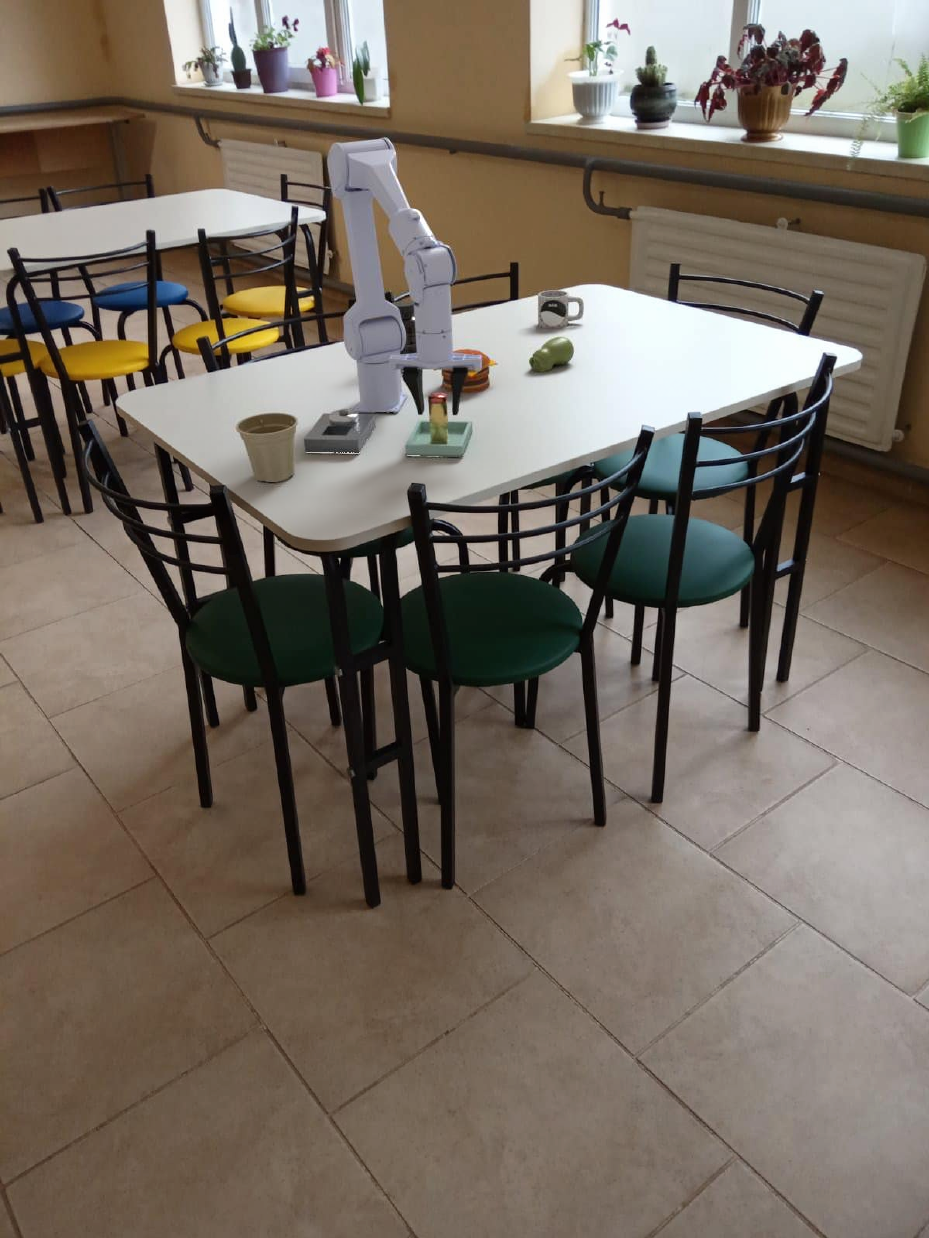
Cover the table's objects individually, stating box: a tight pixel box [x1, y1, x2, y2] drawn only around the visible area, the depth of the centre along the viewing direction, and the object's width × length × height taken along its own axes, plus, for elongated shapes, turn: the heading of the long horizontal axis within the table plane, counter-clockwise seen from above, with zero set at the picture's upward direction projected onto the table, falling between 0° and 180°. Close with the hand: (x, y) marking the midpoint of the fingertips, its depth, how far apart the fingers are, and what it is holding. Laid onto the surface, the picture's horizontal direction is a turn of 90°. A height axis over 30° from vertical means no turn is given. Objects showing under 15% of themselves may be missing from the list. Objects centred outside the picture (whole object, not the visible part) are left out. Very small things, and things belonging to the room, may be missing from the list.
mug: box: [537, 289, 585, 329], centre depth 226 cm, size 10×7×7 cm
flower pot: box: [235, 412, 299, 483], centre depth 159 cm, size 9×9×9 cm
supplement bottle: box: [391, 300, 417, 355], centre depth 205 cm, size 7×7×12 cm
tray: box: [405, 419, 473, 458], centre depth 169 cm, size 11×9×2 cm
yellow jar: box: [427, 392, 449, 444], centre depth 167 cm, size 3×3×8 cm
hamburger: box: [433, 348, 498, 394], centre depth 193 cm, size 9×10×7 cm
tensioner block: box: [303, 408, 376, 453], centre depth 172 cm, size 12×9×4 cm
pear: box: [528, 336, 575, 373], centre depth 202 cm, size 6×5×10 cm
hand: (438, 413), depth 167 cm, fingers open, 5 cm apart
